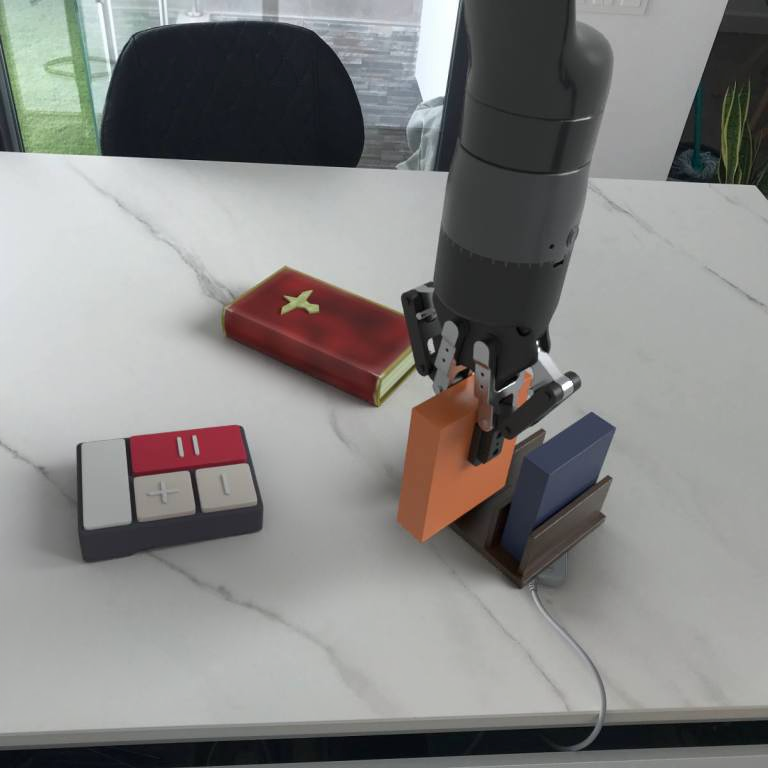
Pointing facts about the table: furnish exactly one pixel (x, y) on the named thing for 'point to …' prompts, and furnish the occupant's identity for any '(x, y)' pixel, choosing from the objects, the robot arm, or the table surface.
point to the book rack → (543, 543)
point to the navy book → (555, 478)
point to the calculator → (165, 490)
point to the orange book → (448, 461)
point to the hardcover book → (324, 333)
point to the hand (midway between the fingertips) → (464, 445)
